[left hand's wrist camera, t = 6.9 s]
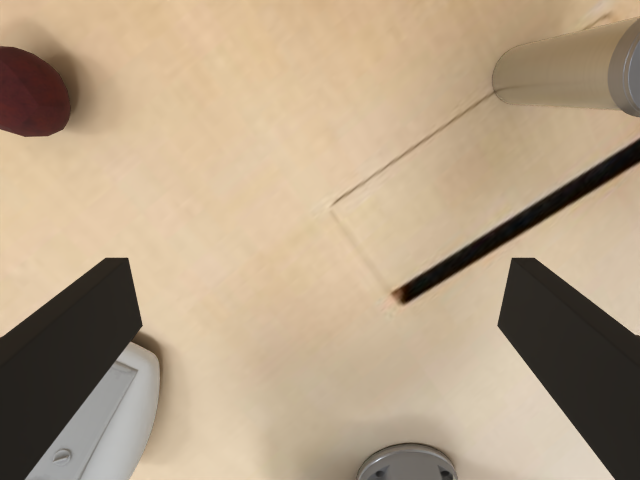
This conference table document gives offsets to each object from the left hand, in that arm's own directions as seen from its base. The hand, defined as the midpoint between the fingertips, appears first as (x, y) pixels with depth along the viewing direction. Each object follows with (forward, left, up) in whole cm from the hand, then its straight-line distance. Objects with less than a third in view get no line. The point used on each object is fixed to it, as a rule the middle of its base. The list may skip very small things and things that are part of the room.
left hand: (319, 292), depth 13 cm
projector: (-32, +30, -28) cm, 52 cm away
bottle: (+8, -20, -28) cm, 35 cm away
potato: (+6, +27, -28) cm, 39 cm away
